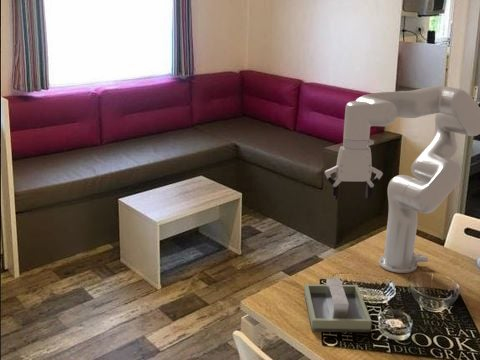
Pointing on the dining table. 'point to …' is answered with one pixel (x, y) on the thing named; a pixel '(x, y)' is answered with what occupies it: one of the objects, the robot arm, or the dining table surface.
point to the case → (321, 315)
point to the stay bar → (336, 299)
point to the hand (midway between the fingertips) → (351, 198)
